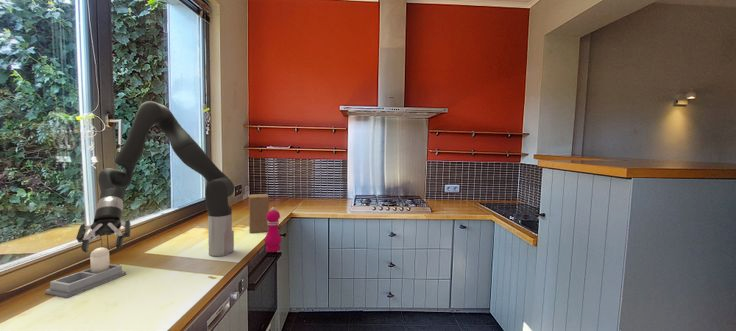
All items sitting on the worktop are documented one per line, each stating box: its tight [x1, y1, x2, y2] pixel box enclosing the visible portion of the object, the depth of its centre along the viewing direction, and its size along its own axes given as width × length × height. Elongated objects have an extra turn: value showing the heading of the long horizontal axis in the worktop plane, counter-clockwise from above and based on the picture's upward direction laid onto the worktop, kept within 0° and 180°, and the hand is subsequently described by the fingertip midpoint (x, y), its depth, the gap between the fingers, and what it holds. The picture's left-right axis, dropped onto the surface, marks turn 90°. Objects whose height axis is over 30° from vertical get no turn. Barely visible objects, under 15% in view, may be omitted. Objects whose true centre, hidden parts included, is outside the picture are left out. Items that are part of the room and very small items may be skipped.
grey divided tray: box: [45, 263, 127, 299], centre depth 95 cm, size 10×17×4 cm, turn 166°
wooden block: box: [248, 193, 270, 234], centre depth 159 cm, size 10×10×20 cm
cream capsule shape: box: [89, 247, 111, 274], centre depth 98 cm, size 5×5×10 cm
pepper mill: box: [264, 206, 282, 253], centre depth 129 cm, size 7×7×20 cm
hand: (101, 249), depth 99 cm, fingers open, 8 cm apart
